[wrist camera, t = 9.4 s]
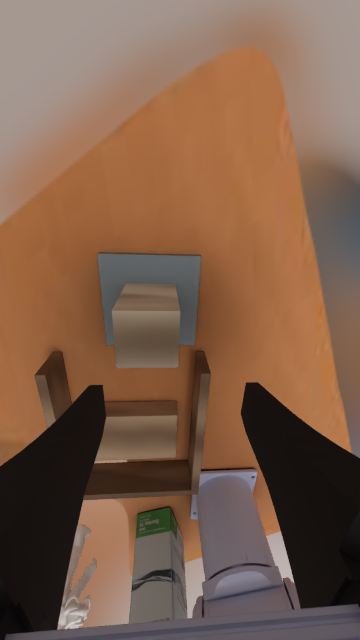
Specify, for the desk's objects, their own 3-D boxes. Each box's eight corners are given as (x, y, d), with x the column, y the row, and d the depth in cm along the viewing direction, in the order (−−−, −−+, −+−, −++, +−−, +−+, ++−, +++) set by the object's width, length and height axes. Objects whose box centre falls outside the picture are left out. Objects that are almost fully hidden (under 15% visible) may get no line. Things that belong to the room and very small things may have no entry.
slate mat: (194, 342, 23) (195, 344, 22) (107, 342, 22) (106, 345, 22) (200, 255, 20) (201, 256, 19) (98, 252, 19) (97, 253, 18)
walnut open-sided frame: (194, 464, 30) (198, 494, 26) (76, 468, 29) (65, 501, 25) (204, 351, 23) (210, 373, 20) (52, 352, 22) (34, 375, 19)
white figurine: (98, 515, 33) (65, 668, 22) (110, 530, 34) (86, 680, 23) (37, 532, 33) (-24, 690, 22) (52, 546, 35) (2, 699, 24)
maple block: (174, 328, 21) (178, 367, 16) (128, 328, 21) (116, 368, 16) (175, 284, 20) (180, 311, 14) (125, 283, 20) (111, 310, 14)
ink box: (135, 512, 33) (122, 659, 22) (171, 505, 33) (175, 650, 22) (151, 545, 36) (147, 685, 26) (183, 539, 36) (193, 677, 25)
